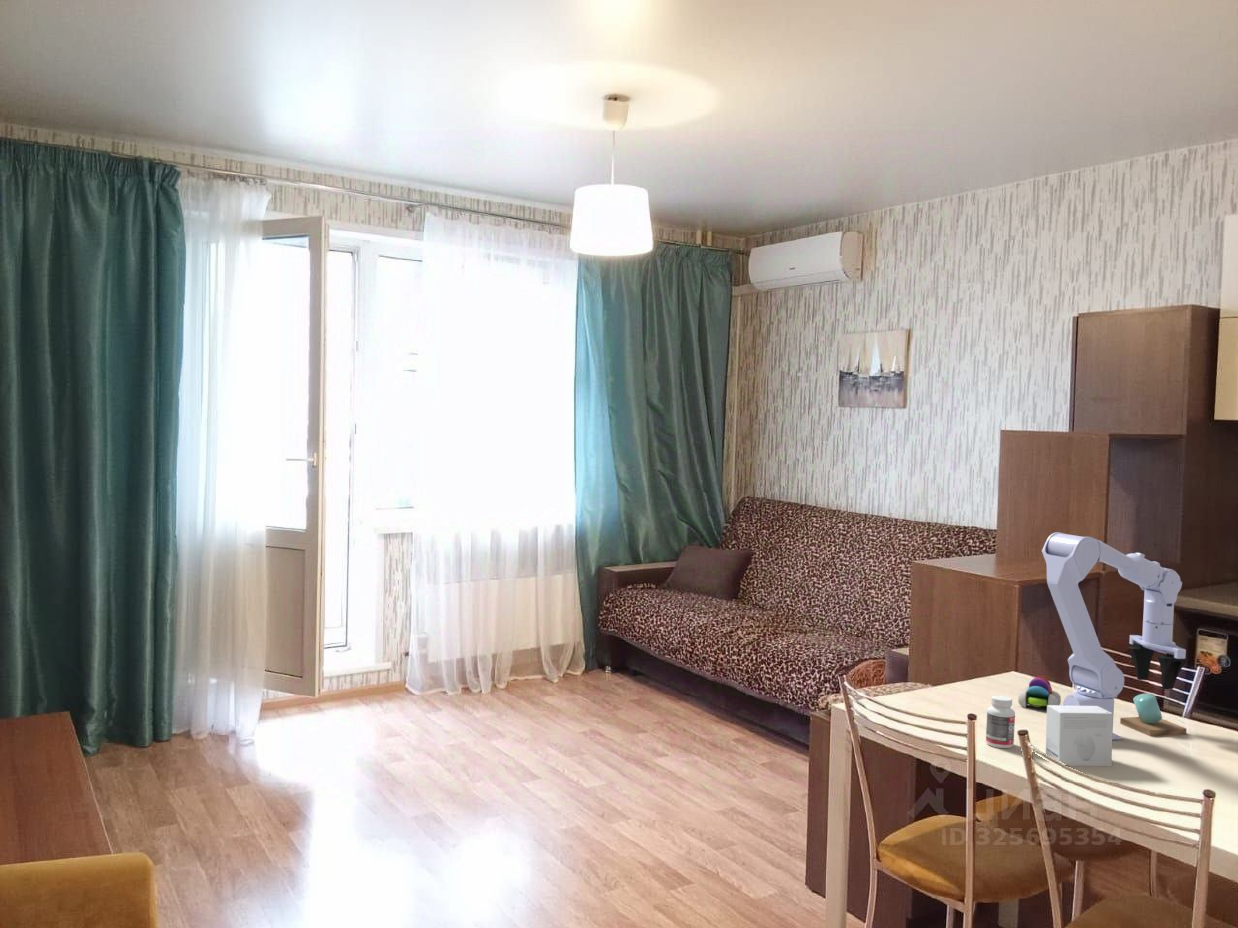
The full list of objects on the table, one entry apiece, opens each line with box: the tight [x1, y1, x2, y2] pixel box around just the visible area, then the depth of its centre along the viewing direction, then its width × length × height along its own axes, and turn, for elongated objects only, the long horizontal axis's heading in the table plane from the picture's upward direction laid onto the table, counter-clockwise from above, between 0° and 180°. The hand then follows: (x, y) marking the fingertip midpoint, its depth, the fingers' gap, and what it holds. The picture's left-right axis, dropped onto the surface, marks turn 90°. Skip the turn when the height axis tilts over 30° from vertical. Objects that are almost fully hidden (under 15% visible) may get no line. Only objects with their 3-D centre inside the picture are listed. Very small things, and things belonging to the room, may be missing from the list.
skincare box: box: [1045, 704, 1114, 767], centre depth 194 cm, size 10×6×10 cm, turn 91°
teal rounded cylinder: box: [1132, 692, 1163, 724], centre depth 216 cm, size 4×4×5 cm
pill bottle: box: [985, 695, 1016, 749], centre depth 203 cm, size 5×5×10 cm
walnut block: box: [1119, 716, 1187, 737], centre depth 215 cm, size 9×9×2 cm
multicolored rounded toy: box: [1017, 675, 1062, 709], centre depth 232 cm, size 8×10×7 cm
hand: (1154, 683), depth 215 cm, fingers open, 7 cm apart
